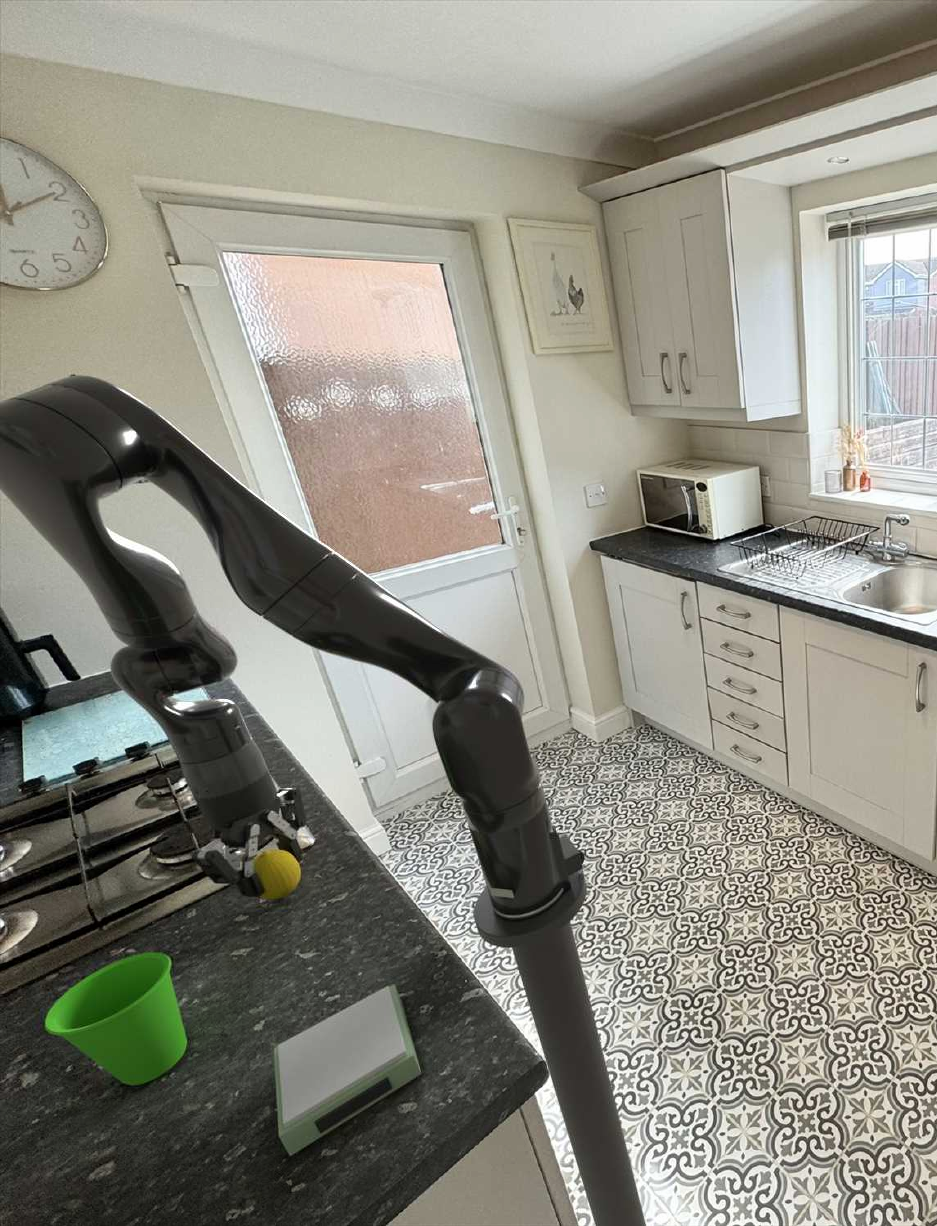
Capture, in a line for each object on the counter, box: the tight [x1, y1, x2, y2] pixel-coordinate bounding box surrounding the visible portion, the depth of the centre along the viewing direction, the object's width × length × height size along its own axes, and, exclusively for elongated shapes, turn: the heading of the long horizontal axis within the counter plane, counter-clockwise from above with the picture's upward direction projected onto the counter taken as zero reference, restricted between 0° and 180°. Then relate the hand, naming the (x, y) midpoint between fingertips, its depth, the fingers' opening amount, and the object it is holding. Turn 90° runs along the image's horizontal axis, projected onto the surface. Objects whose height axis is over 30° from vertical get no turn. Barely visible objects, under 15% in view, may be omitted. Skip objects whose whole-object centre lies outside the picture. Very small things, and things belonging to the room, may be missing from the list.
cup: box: [44, 951, 188, 1086], centre depth 67 cm, size 9×9×11 cm
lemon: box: [254, 848, 302, 901], centre depth 89 cm, size 6×6×8 cm
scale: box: [273, 983, 422, 1157], centre depth 66 cm, size 11×11×4 cm
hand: (275, 877), depth 89 cm, fingers closed on lemon, 5 cm apart
